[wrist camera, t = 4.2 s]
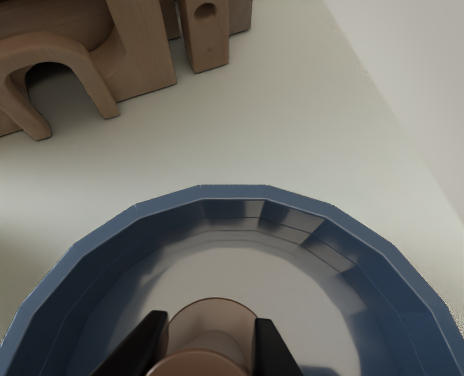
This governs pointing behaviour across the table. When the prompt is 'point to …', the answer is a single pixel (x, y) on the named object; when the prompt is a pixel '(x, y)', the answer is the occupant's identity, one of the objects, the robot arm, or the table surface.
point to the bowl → (239, 286)
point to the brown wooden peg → (209, 340)
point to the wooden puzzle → (107, 48)
